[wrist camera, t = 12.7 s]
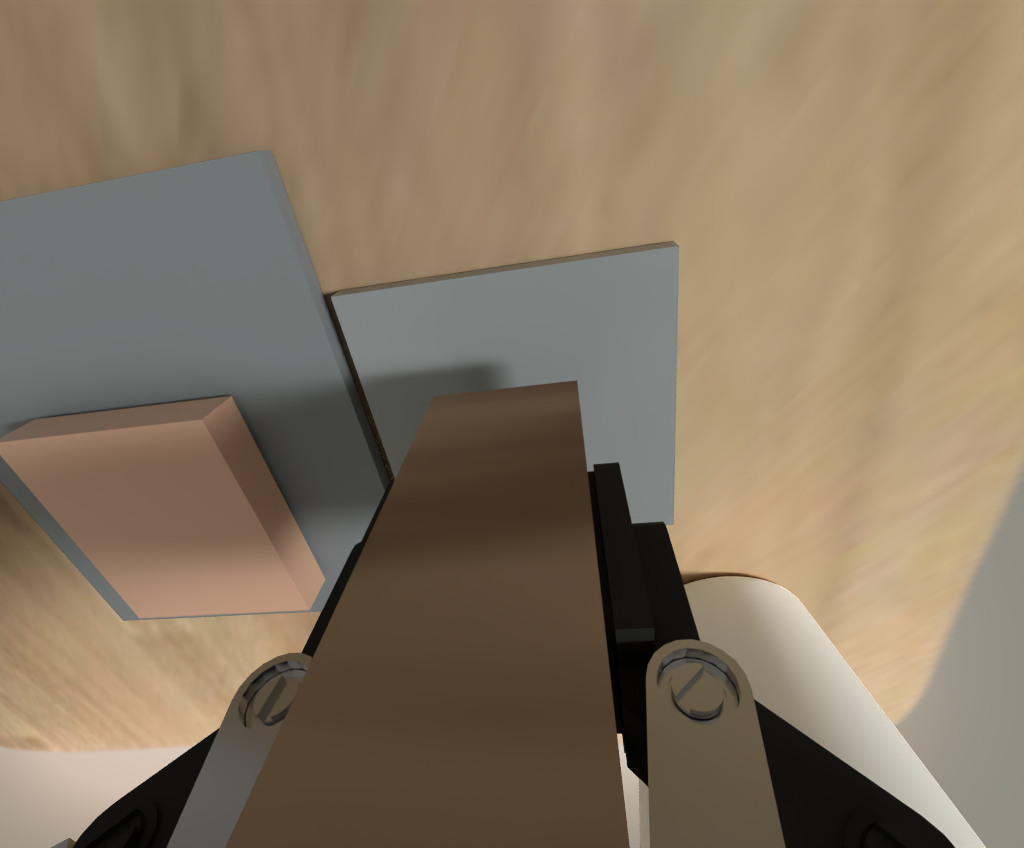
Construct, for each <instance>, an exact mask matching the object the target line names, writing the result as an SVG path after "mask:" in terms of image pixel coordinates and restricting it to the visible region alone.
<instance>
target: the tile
mask: <svg viewBox="0 0 1024 848" xmlns="http://www.w3.org/2000/svg"><path fill="white" fill-rule="evenodd" d="M0 455H1V457H2V458H3V459H4V460H5V461H6V462H7V464H8V465H9V466H10V467H11V468H12V469H13V471H14V472H15V473H16V474H17V475H18V476H19V478H20V479H21V480H22V481H23V482H24V484H25V485H26V486H27V487H28V488H29V489H30V491H31V492H32V493H33V494H34V495H35V496H36V498H37V499H38V500H39V501H40V502H41V503H42V505H43V506H44V507H45V508H46V509H47V511H48V512H49V513H50V514H51V515H52V516H53V518H54V519H55V520H56V521H57V522H58V523H59V525H60V526H61V527H62V528H63V529H64V531H65V532H66V533H67V534H68V535H69V536H70V538H71V539H72V540H73V541H74V542H75V543H76V545H77V546H78V547H79V548H80V549H81V550H82V552H83V553H84V554H85V555H86V556H87V558H88V559H89V560H90V561H91V562H92V563H93V565H94V566H95V567H96V568H97V569H98V570H99V572H100V573H101V574H102V575H103V576H104V577H105V579H106V580H107V581H108V582H109V583H110V585H111V586H112V587H113V588H114V589H115V590H116V592H117V593H118V594H119V595H120V596H121V597H122V599H123V600H124V601H125V602H126V603H127V604H128V606H129V607H130V608H131V609H132V610H133V612H134V613H135V614H136V615H137V616H138V617H139V618H157V617H178V616H198V615H219V614H240V613H261V612H281V611H302V610H310V609H311V607H312V605H313V603H314V601H315V599H316V597H317V595H318V593H319V591H320V589H321V587H322V585H323V583H324V581H325V577H324V575H323V573H322V571H321V569H320V567H319V565H318V564H317V562H316V560H315V558H314V556H313V554H312V552H311V550H310V548H309V546H308V544H307V542H306V540H305V538H304V536H303V534H302V532H301V530H300V529H299V527H298V525H297V523H296V521H295V519H294V517H293V515H292V513H291V511H290V509H289V507H288V505H287V503H286V501H285V499H284V497H283V495H282V493H281V492H280V490H279V488H278V486H277V484H276V482H275V480H274V478H273V476H272V474H271V472H270V470H269V468H268V466H267V464H266V462H265V460H264V458H263V457H262V455H261V453H260V451H259V449H258V447H257V445H256V443H255V441H254V439H253V437H252V435H251V433H250V431H249V429H248V427H247V425H246V423H245V422H244V420H243V418H242V416H241V414H240V412H239V410H238V408H237V406H236V404H235V402H234V400H233V398H232V396H227V397H219V398H210V399H202V400H194V401H185V402H177V403H169V404H160V405H152V406H143V407H135V408H127V409H118V410H110V411H101V412H93V413H85V414H76V415H68V416H59V417H51V418H43V419H34V420H33V421H31V422H29V423H27V424H25V425H23V426H22V427H20V428H18V429H16V430H14V431H12V432H11V433H9V434H7V435H5V436H3V437H1V438H0Z"/></svg>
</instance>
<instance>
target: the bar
mask: <svg viewBox="0 0 1024 848" xmlns="http://www.w3.org/2000/svg"><path fill="white" fill-rule="evenodd" d="M225 848H630V847H629V838H628V830H627V820H626V812H625V803H624V794H623V785H622V776H621V767H620V758H619V749H618V740H617V731H616V722H615V713H614V704H613V696H612V687H611V678H610V669H609V660H608V651H607V642H606V633H605V624H604V615H603V606H602V597H601V589H600V580H599V571H598V562H597V553H596V544H595V535H594V526H593V517H592V508H591V499H590V490H589V482H588V473H587V464H586V455H585V446H584V437H583V428H582V419H581V410H580V401H579V392H578V383H577V380H576V381H567V382H558V383H549V384H540V385H531V386H522V387H513V388H504V389H495V390H486V391H477V392H468V393H459V394H450V395H441V396H434V397H433V399H432V401H431V403H430V405H429V407H428V410H427V412H426V414H425V416H424V418H423V420H422V423H421V425H420V427H419V429H418V431H417V433H416V436H415V438H414V440H413V442H412V444H411V446H410V449H409V451H408V453H407V455H406V457H405V459H404V462H403V464H402V466H401V468H400V470H399V472H398V475H397V477H396V479H395V481H394V483H393V485H392V488H391V490H390V492H389V494H388V496H387V498H386V501H385V503H384V505H383V507H382V509H381V511H380V514H379V516H378V518H377V520H376V522H375V524H374V527H373V529H372V531H371V533H370V535H369V537H368V539H367V542H366V544H365V546H364V548H363V550H362V552H361V555H360V557H359V559H358V561H357V563H356V565H355V568H354V570H353V572H352V574H351V576H350V578H349V581H348V583H347V585H346V587H345V589H344V591H343V594H342V596H341V598H340V600H339V602H338V604H337V607H336V609H335V611H334V613H333V615H332V617H331V620H330V622H329V624H328V626H327V628H326V630H325V633H324V635H323V637H322V639H321V641H320V643H319V646H318V648H317V650H316V652H315V654H314V656H313V659H312V661H311V663H310V665H309V667H308V669H307V672H306V674H305V676H304V678H303V680H302V682H301V685H300V687H299V689H298V691H297V693H296V695H295V698H294V700H293V702H292V704H291V706H290V708H289V710H288V713H287V715H286V717H285V719H284V721H283V723H282V726H281V728H280V730H279V732H278V734H277V736H276V739H275V741H274V743H273V745H272V747H271V749H270V752H269V754H268V756H267V758H266V760H265V762H264V765H263V767H262V769H261V771H260V773H259V775H258V778H257V780H256V782H255V784H254V786H253V788H252V791H251V793H250V795H249V797H248V799H247V801H246V804H245V806H244V808H243V810H242V812H241V814H240V817H239V819H238V821H237V823H236V825H235V827H234V830H233V832H232V834H231V836H230V838H229V840H228V843H227V845H226V847H225Z"/></svg>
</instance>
